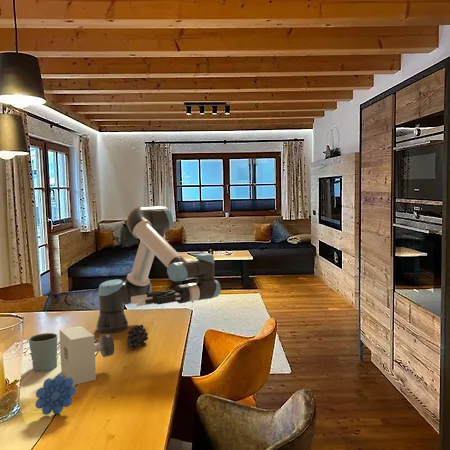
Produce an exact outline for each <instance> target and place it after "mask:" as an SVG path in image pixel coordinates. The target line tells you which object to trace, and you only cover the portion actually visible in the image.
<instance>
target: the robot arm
mask: <svg viewBox="0 0 450 450" xmlns="http://www.w3.org/2000/svg"><path fill="white" fill-rule="evenodd" d="M126 220H127V221H126V224H127V228H128V231H129V232H130V234H132V236H133V237H134V238H135V239H139V240H140V242H139V244H138V248H137V251H136V255H135V259H134V262H133V266H132V268H131V272H130V273H128V274H127V276H126V278H125V280H124V281H123V280H122V279H115V278H114V279H110V280H106V281H104V282H102V283H100V284H99V286H98V303H99V316H98V319H97V322H96V325H95V326H96V331H97V332H99V333H103V334H104V333H106V334H111V333H119V332H123V331H125V330H127V329H128V328H129V322H128V319H127V317H126V314H125V307H124V306H127V305H135V304H136V307H141V306H148V305H153V304H154V305H158V306H159V305H165V304H170V303H178V304H186V303H190V302H191V303H194V302H196V301H204V300H208V299H209V300H211V299H214V298H217V297H219V296H220V295H221V291H222V290H221V289H222V287H221V284H220V282H219V281H218V279H215V257H214V254H212V253H209V252H208V253H207V252H205V253H204V252H203V253H202V252H201V253H198V254H196V257H195V259H192V260H191V259H190V260H186V259H184V257H183V256H182V255H181V254H180V253H179V252H178V251H176V249H175V248H173V246H172V245H171V244H169V243H168V241H166V240H165V238H164V237H165V234H166V231H169V230H171V229H172V227H173V224H174V218H173V213H172V211H171V210H170V209H169V208H168V207H166V206H164V205H163V206H160V205H157V206H140V207H136V208H134V209H132V210H131V211H130V212H129V214H128V216H127V219H126ZM155 256H156V258H157V259H158V260H159V261H160V262H161V263H162V264H163V266H165V267H166V268H167V269H166V271H167V272H166V273H167V276H168V278H169V280H170V281H171V282H172V281H173V282H183V281H184V282H185V281H187V280H192V279H196V282H191V283H190V282H189V283H185V284H177V285H176V286H175V288H174V290H173V289H168V290H166V289H163V290H157V291H152V289H153V288H152V283H151V281H150V278H149V275H150V271H151V268H152V264H153V262H154V259H155Z"/></svg>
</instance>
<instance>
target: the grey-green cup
mask: <svg viewBox="0 0 450 450" xmlns="http://www.w3.org/2000/svg"><path fill="white" fill-rule="evenodd" d="M28 343H29V350H30V352H31V353H30V356H31V360H32V362H31V363H32V369H33V371H34V372H49V371H52V370H54V369H55V368H57V366H58V358H57V356H58V334H56V333H55V332H54V333H53V332H47V333H45V332H44V333H40V334H35V335H32V336H30V337H29V338H28Z"/></svg>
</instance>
